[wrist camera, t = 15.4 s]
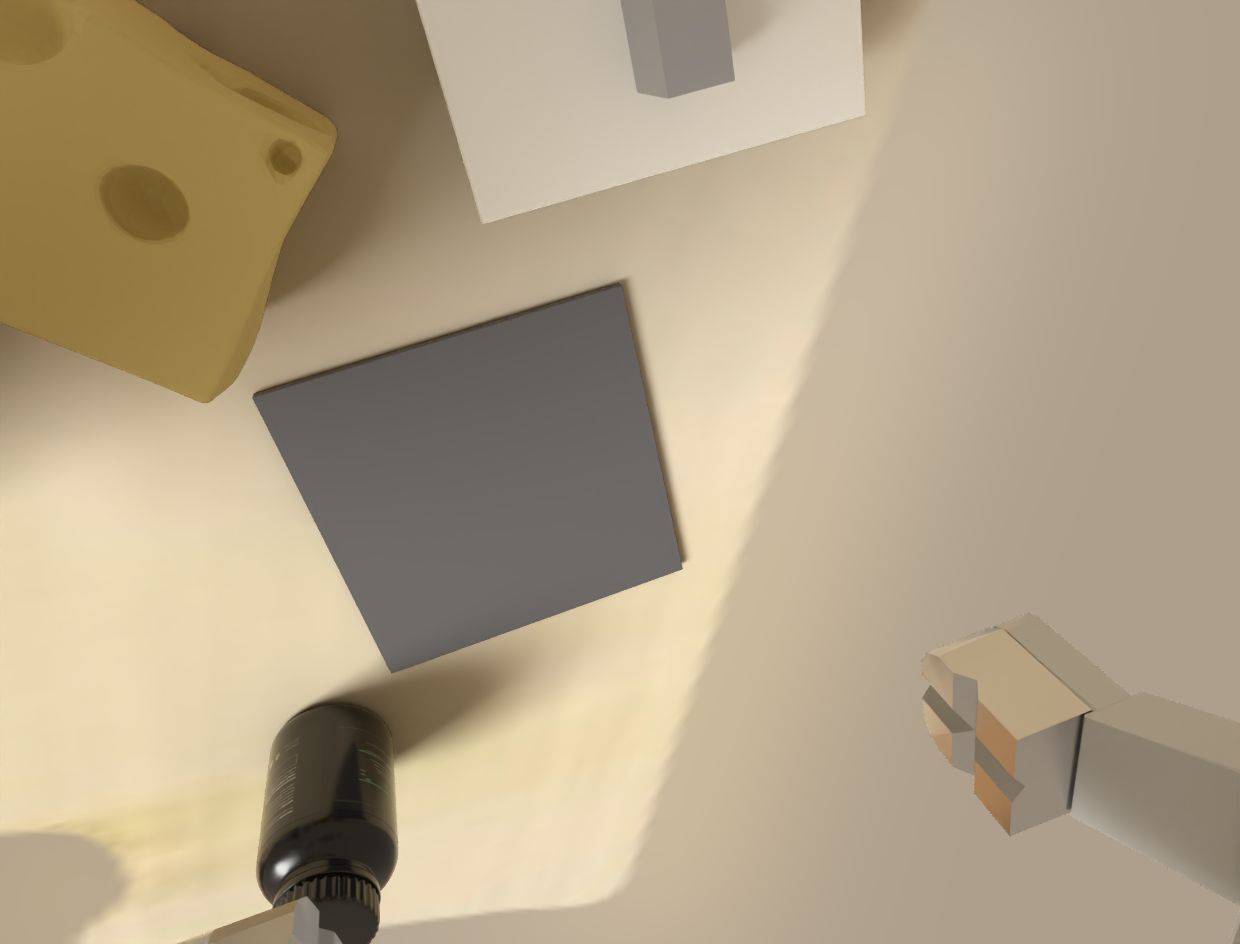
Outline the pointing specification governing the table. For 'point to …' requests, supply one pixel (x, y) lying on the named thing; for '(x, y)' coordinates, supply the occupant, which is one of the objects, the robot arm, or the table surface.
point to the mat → (483, 475)
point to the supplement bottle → (331, 818)
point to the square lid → (632, 86)
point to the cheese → (143, 190)
